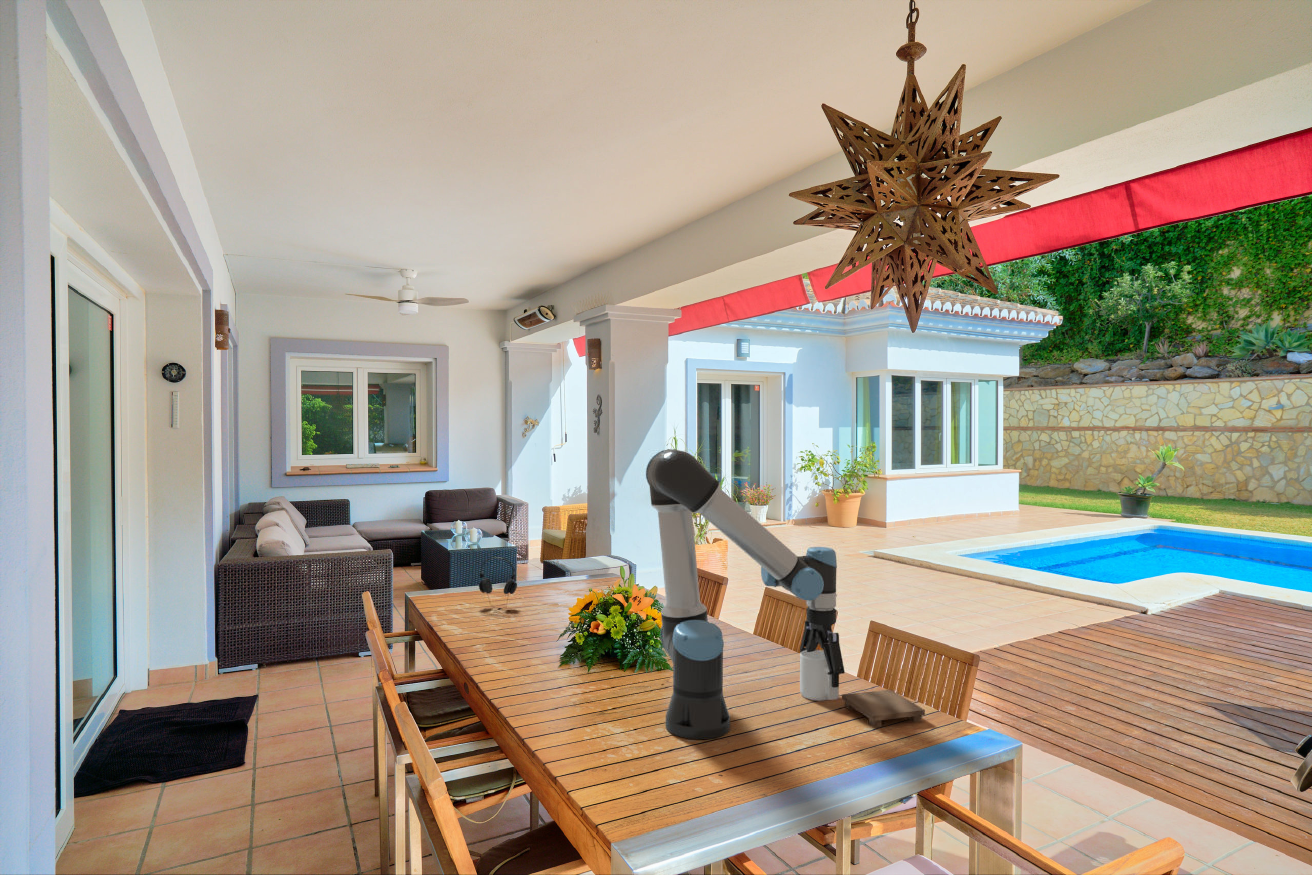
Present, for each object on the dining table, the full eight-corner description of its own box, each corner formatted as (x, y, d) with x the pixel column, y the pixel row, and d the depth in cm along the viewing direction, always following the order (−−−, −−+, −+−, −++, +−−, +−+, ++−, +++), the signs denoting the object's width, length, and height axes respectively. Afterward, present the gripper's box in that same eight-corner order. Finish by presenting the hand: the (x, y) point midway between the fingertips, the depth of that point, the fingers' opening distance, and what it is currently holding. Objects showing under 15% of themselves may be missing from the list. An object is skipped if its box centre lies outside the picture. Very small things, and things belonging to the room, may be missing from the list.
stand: (873, 728, 166) (873, 715, 166) (841, 706, 180) (841, 694, 180) (924, 722, 170) (924, 709, 170) (890, 700, 183) (890, 689, 183)
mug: (823, 708, 178) (823, 665, 178) (793, 692, 189) (793, 652, 189) (849, 702, 182) (849, 660, 182) (818, 687, 193) (818, 647, 193)
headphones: (471, 612, 272) (471, 560, 272) (482, 605, 284) (483, 555, 284) (508, 614, 270) (508, 561, 270) (519, 606, 281) (519, 556, 281)
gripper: (859, 617, 175) (858, 705, 175) (812, 596, 198) (811, 673, 198) (831, 619, 173) (831, 708, 173) (787, 597, 196) (787, 676, 196)
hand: (820, 690), depth 186 cm, fingers closed on mug, 12 cm apart
